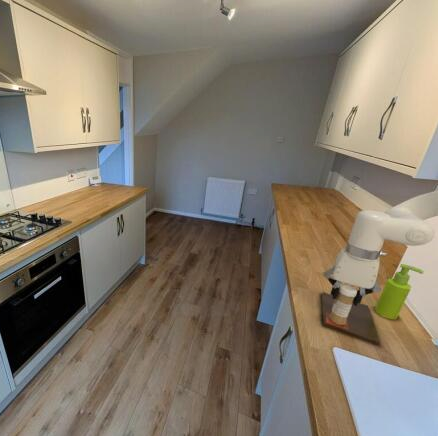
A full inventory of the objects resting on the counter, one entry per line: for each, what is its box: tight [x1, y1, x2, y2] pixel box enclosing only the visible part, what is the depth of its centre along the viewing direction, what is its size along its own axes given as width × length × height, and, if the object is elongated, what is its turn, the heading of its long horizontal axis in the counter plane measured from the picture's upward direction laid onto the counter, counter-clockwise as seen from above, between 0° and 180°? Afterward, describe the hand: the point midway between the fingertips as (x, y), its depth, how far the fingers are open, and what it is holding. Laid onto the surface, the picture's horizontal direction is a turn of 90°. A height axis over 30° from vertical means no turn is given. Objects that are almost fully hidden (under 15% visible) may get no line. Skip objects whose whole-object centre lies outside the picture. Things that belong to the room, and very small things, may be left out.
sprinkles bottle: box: [329, 283, 358, 325], centre depth 79 cm, size 5×5×13 cm
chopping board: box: [321, 291, 380, 346], centre depth 84 cm, size 20×14×1 cm
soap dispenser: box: [374, 263, 425, 320], centre depth 82 cm, size 6×7×20 cm
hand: (344, 299), depth 78 cm, fingers open, 4 cm apart
